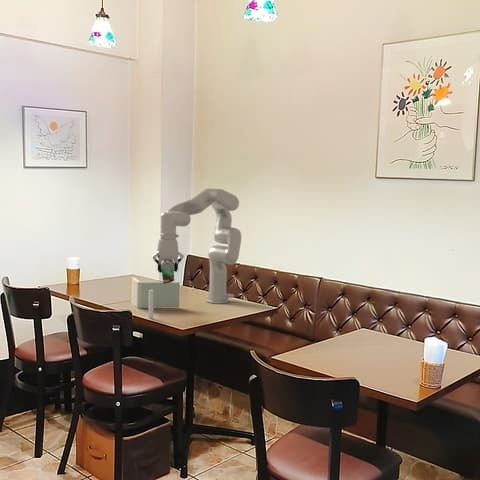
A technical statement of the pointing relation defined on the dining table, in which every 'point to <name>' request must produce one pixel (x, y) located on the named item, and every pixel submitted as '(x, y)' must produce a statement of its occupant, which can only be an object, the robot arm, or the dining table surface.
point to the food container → (167, 271)
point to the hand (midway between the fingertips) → (167, 271)
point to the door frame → (137, 296)
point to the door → (160, 294)
